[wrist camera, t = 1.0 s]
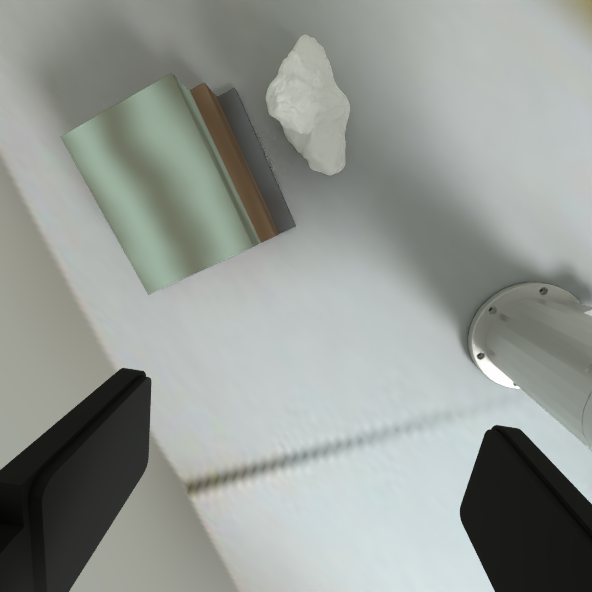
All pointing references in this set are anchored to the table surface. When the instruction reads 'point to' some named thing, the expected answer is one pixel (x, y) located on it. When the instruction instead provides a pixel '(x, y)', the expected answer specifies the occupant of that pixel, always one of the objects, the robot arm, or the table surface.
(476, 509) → the robot arm
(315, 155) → the bust
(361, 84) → the table surface
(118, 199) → the sage layered slab
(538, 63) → the table surface
